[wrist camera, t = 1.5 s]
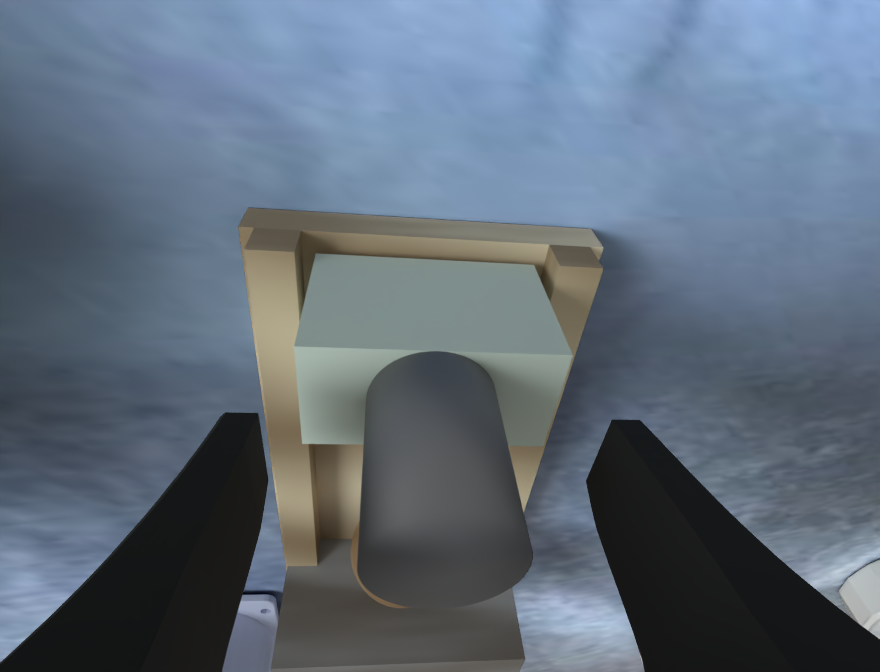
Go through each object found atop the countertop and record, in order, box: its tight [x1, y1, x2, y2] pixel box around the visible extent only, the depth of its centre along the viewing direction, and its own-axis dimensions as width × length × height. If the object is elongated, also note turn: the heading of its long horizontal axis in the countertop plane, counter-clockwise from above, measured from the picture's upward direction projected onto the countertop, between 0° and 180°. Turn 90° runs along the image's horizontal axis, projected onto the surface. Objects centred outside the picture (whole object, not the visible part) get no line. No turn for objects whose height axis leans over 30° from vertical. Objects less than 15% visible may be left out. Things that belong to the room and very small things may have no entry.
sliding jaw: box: [294, 253, 573, 609], centre depth 12 cm, size 3×6×8 cm, turn 84°
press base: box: [238, 208, 604, 672], centre depth 18 cm, size 18×10×6 cm, turn 174°
